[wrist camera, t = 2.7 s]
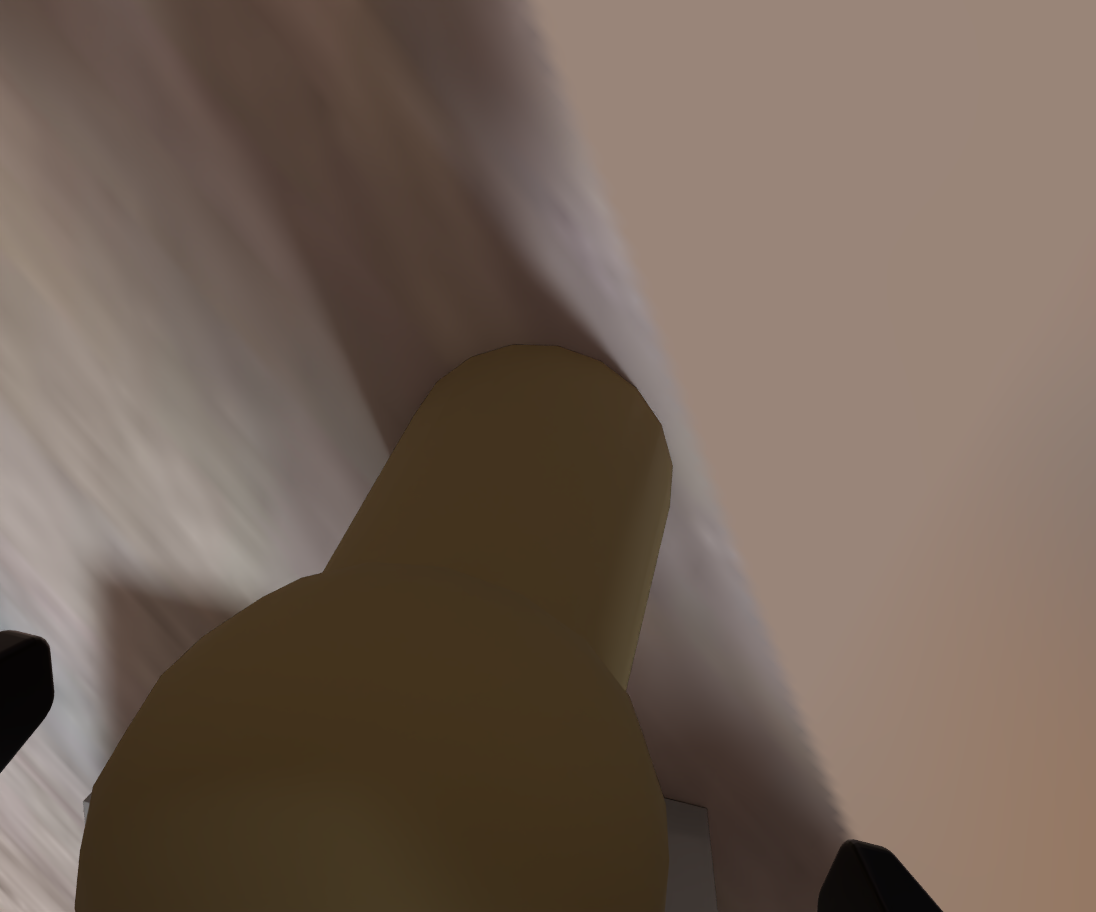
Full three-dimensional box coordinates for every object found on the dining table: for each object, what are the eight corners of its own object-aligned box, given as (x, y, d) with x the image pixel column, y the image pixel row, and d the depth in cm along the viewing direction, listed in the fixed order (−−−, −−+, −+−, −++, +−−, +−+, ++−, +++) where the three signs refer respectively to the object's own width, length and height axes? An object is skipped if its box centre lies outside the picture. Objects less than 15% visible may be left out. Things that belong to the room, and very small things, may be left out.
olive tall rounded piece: (535, 641, 17) (361, 1342, 6) (351, 469, 16) (-206, 962, 5) (732, 489, 15) (943, 1148, 4) (535, 281, 14) (210, 493, 3)
